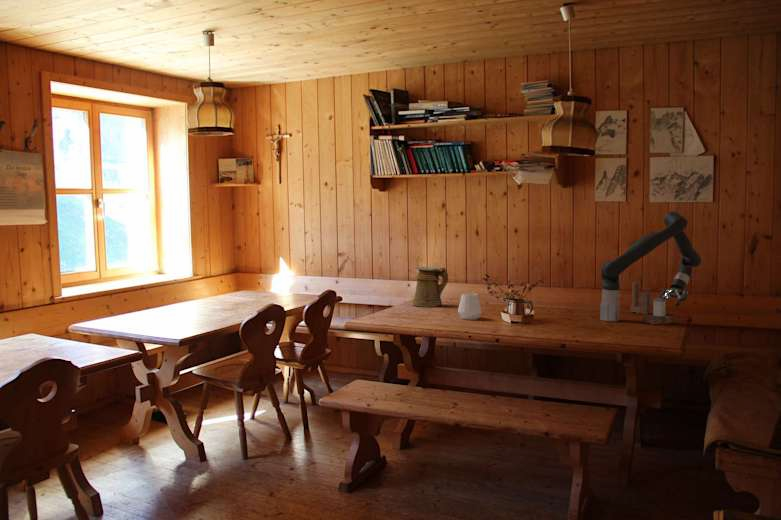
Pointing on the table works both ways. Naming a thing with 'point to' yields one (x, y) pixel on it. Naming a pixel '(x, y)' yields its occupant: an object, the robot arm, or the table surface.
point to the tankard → (429, 286)
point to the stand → (658, 320)
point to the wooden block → (640, 300)
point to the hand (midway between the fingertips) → (669, 304)
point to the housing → (659, 308)
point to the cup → (469, 306)
